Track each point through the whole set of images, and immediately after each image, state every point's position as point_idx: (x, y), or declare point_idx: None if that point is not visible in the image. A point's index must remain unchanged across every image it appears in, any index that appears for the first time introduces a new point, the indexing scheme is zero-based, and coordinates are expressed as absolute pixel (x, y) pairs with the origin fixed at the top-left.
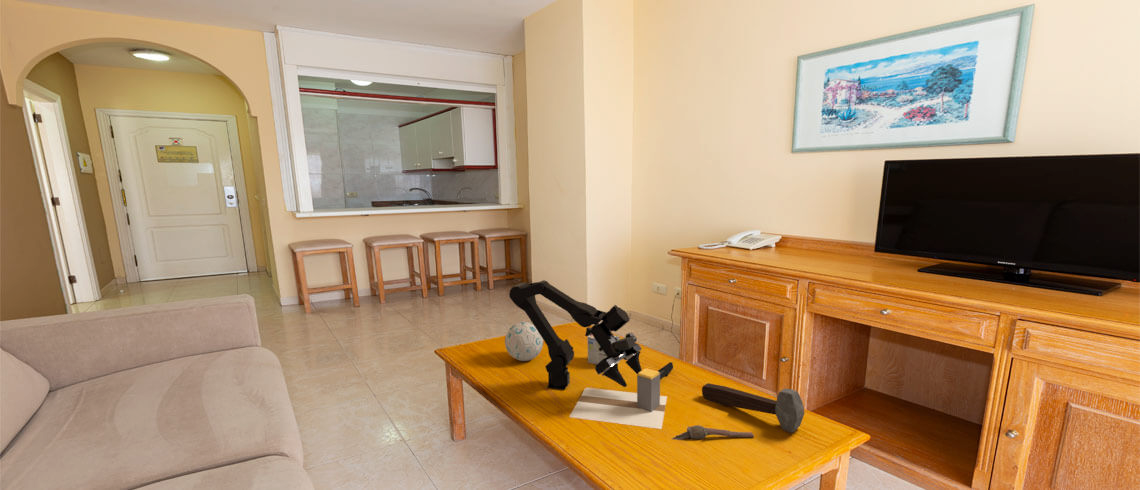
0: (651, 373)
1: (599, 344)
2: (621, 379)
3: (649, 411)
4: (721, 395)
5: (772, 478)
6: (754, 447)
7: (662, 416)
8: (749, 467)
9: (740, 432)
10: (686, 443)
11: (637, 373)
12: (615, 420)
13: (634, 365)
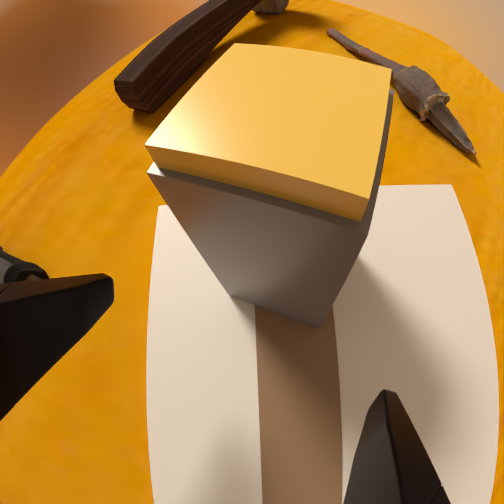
0: (301, 71)
1: None
2: (428, 455)
3: None
4: (183, 51)
5: (440, 40)
6: (370, 37)
7: None
8: (439, 53)
9: (344, 37)
10: None
11: (81, 329)
12: (483, 387)
13: (12, 348)
